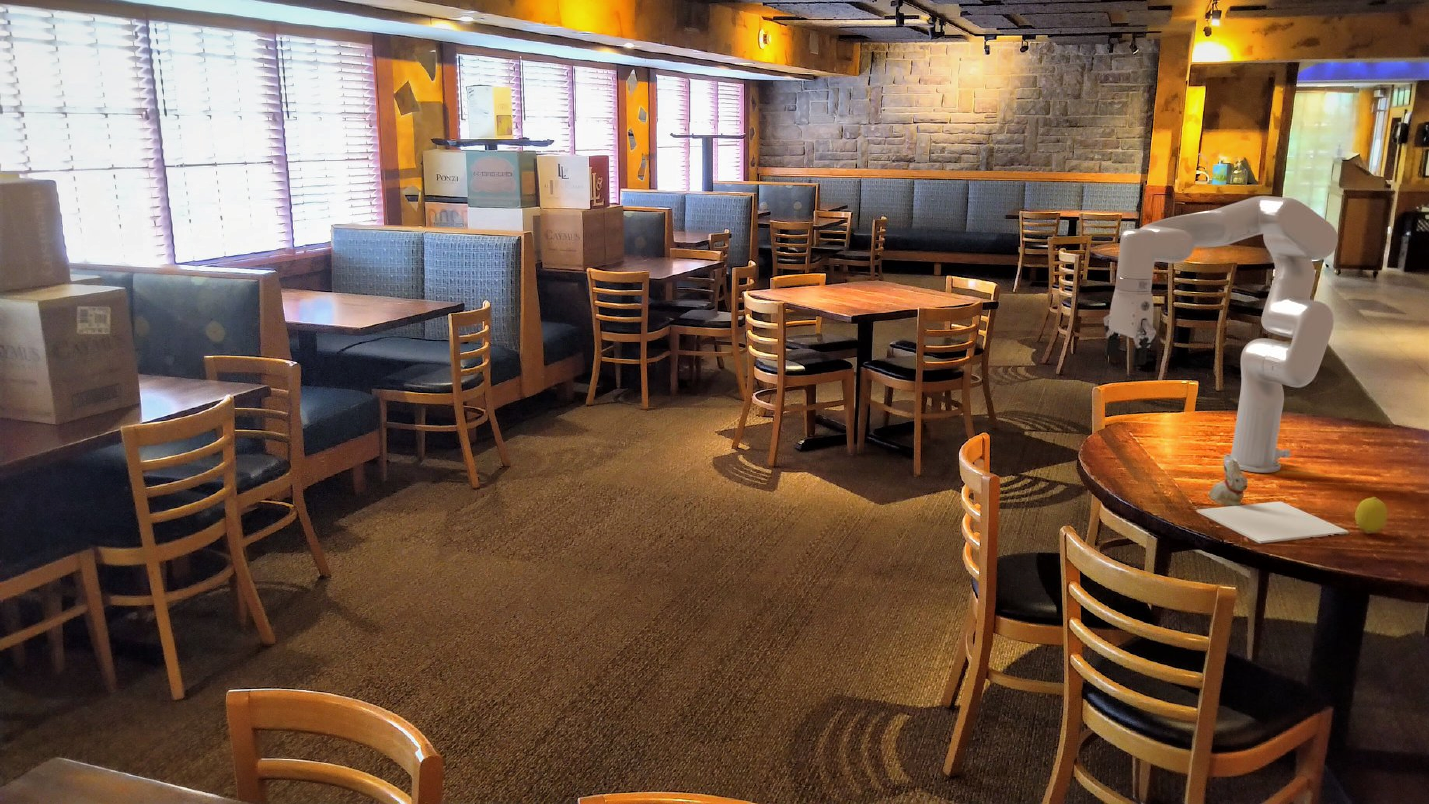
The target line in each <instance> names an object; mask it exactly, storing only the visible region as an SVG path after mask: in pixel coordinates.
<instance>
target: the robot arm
mask: <svg viewBox="0 0 1429 804" xmlns="http://www.w3.org/2000/svg"><path fill="white" fill-rule="evenodd" d="M1258 235H1263V243H1264V246H1265V247H1266V249H1267V250H1268V252H1269V254H1270V256H1271V258H1272V261H1273V263H1274V275H1273V281H1272V283H1271V287H1270V290H1269V292H1268V296H1267V298H1266V301H1265V305H1264V308H1263V310H1262V311H1263V312H1262V314H1261V319H1260V322H1261V325H1262V327H1263V329H1264V330H1266V331H1267V332H1269V333H1271V334H1274V335H1277V336H1282V337H1286V338H1290V339H1292V340H1291V343H1288V342H1284V341H1281V340H1276V339H1274V338H1273V339H1272V338H1265V337H1264V338H1261V337H1260V338H1256V339H1253V340H1251V341H1249V342H1248V343H1247V344H1246V345H1245V346H1244V348H1243V349H1242V351H1241V354H1240V372H1241V373H1240V377H1241V385H1240V394H1239V399H1238V400H1239V401H1238V407H1237V415H1236V420H1235V427H1234V435H1233V442H1232V447H1231V453H1228V454H1224V456H1223V463H1224V464H1225V463H1228V462H1230V461H1231V460H1235V461H1236V462H1237V463H1238V465H1239V468H1240V471H1245V472H1249V473H1250V472H1251V473H1259V474H1261V473H1262V474H1268V473H1275V472H1276V473H1277V472H1279V471H1280V470H1281V466H1282V465H1281V462H1279V461H1278V460H1280V459H1281V458H1289V457H1291V455H1292V454H1291V453H1292V452H1291V450H1290V449H1289V448H1288V449H1279V448H1277V445H1278V439H1279V438H1278V437H1279V434H1280V433H1279V432H1280V427H1281V426H1280V425H1281V420H1282V419H1281V418H1282V414H1283V413H1282V412H1283V409H1284V402H1285V394H1284V392H1285V391H1284V388H1283V385H1284V386H1289V387H1292V388H1302V387H1305V386H1307V385H1308V384H1310V383H1311V382H1312V381H1313V380H1314V379H1315V377H1316V376H1317V373H1318V372H1319V369H1320V366H1321V363H1322V361H1323V359H1324V356H1325V353H1326V350H1327V347H1328V344H1329V341H1330V339H1331V336H1332V332H1333V328H1334V321H1335V320H1334V315H1333V314H1334V313H1333V312H1332V309H1331V308H1330V307H1329V306H1328V304H1326V303H1325V302H1322V301H1319V300H1315V299H1311V295H1312V292H1313V289H1314V285H1315V280H1316V270H1315V266H1314V263H1313V261H1319V260H1324V259H1325V258H1327V257H1329V256H1331V255H1332V254H1333V253H1334V252H1335V250H1336V249H1337V246H1338V243H1339V242H1338V240H1339V237H1338V233H1337V230H1336V228H1335V227H1334V225H1332V224H1331V222H1329V221H1327V220H1326V219H1325V218H1323V217H1322V216H1321V215H1320V214H1318V213H1317V212H1316V211H1314V210H1313V209H1311V207H1309V206H1308V205H1306V204H1305V203H1303V202H1302V201H1299V200H1298V199H1295V198H1293V197H1281V196H1272V195H1259V196H1257V195H1256V196H1254V197H1249V198H1247V199H1244V200H1239V201H1237V202H1234V203H1231V204H1228V205H1225V206H1222V207H1219V208H1215V209H1211V210H1205V211H1204V210H1203V211H1200V212H1194V213H1189V214H1181V215H1176V216H1172V217H1171V216H1170V217H1168V218H1163V219H1160V220H1159V219H1158V220H1157V221H1153V222H1150V223H1147V224H1145V225H1142V227H1140V228H1128V229H1125V230H1123V231H1122V233H1121V235H1120V241H1119V249H1118V250H1119V251H1118V259H1117V269H1116V270H1117V271H1116V277H1115V287H1114V292H1113V295H1112V299H1111V303H1110V310H1109V314H1107V315H1105V316H1104V317H1103V324H1104V331H1105V338H1106V345H1105V356H1107V357H1113V356H1114V357H1115V356H1118V355H1120V347H1121V338H1120V337H1121V335H1122V336H1125V337H1128V338H1132V340H1133V342H1134V345H1135V347H1133V350H1132V351H1133V352H1132V361H1131V364H1132V365H1133V366H1145V365H1146V364H1147V358H1148V357H1147V355H1148V349H1149V348H1150V347H1151V344H1152V343H1153V342H1154V338H1155V336H1156V334H1157V330H1156V329H1155V328H1154V327H1153V326H1154V325H1153V324H1154V296H1153V295H1154V294H1153V293H1152V286H1153V277H1154V271H1155V270H1154V269H1155V263H1156V262H1162V263H1168V264H1178V263H1182V262H1184V261H1186V260H1188V259H1189V258H1190V257H1191V256H1192V254H1193V253H1194V251H1195V248H1197V247H1198V248H1199V247H1200V248H1217V247H1224V246H1228V245H1231V244H1234V243H1236V242H1237V243H1238V242H1239V241H1242V240H1245V239H1248V238H1252V237H1256V236H1258Z"/></svg>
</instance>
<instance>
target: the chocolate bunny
mask: <svg viewBox="0 0 1429 804" xmlns="http://www.w3.org/2000/svg"><path fill="white" fill-rule="evenodd" d="M1223 472H1224V474H1225V479H1224V480H1223V481H1220V482H1217V483H1215V484H1214V485H1213V486H1212V488H1211V490H1210V491H1209V493H1208V496H1209V498H1210V500H1212V501H1214V502H1215V503H1218V504H1220V505H1222V506H1223V505H1225V506H1227V507H1229V506H1239V505H1242V502H1241V501H1242V500H1243V498H1244V491H1246V490H1247V488H1248V478H1247V477H1246V476H1245V474H1243V472H1242V470H1240V468H1239V465H1238V463H1237V462H1236V461H1235V460H1231V461H1230V462H1228V463H1224V464H1223Z"/></svg>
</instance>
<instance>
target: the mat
mask: <svg viewBox="0 0 1429 804" xmlns="http://www.w3.org/2000/svg"><path fill="white" fill-rule="evenodd" d="M1196 513H1198V514H1200V515H1202V516H1205V517H1206V518H1208V519H1210V520H1212V521H1214V522H1216V523H1218V524H1220V525H1221V526H1224V527H1225V528H1228V529H1230V530H1232V531H1234V532H1236V533H1238V534H1240V535H1242V536H1244V537H1247V538H1248V539H1250V540H1252V541H1253V542H1256V543H1258V544H1266V543H1274V542H1275V543H1276V542H1284V541H1286V542H1287V541H1292V540H1302V539H1310V537H1313V538H1319V537H1329V536H1328V535H1331V536H1335V535H1334V534H1339V535H1347V534H1349V530H1347V529H1344V528H1342V527H1340V526H1337V525H1335V524H1333V523H1331V522H1329V521H1327V520H1324V519H1322V518H1319V517H1317V516H1315V515H1312V514H1310V513H1308V512H1305V511H1304V510H1302V509H1299V508H1297V507H1294V506H1292V505H1290V504H1287V503H1285V502H1283V501H1271V502H1261V503H1252V504H1241V505H1239V506H1222V507H1212V508H1211V507H1210V508H1203V509H1202V508H1201V509H1196Z"/></svg>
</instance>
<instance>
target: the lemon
mask: <svg viewBox="0 0 1429 804" xmlns="http://www.w3.org/2000/svg"><path fill="white" fill-rule="evenodd" d="M1354 518H1355V519H1354V520H1355V522H1356V525H1357V526H1358V527H1359V529H1361V530H1363V531H1364V533H1365V534H1368V535H1369V534H1372V533H1374V532H1378V531H1380V530H1381V529H1383V528H1384V527H1385V525H1386V523H1387V520H1388V508H1387V506H1386V504H1385V503H1384V502H1383V501H1382V500H1381V499H1379V498H1377V497H1376V496H1372V497H1368V498H1365V499H1363V500H1362V501H1360V502H1359V504H1358V505H1357V507H1356V509H1355V513H1354Z"/></svg>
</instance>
